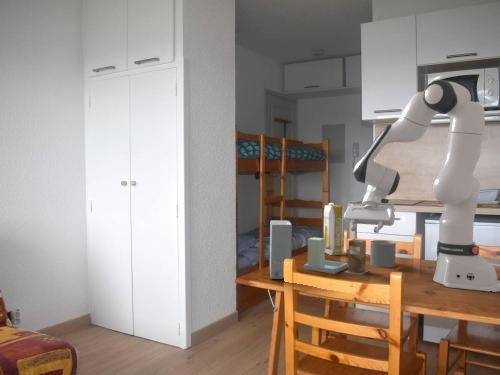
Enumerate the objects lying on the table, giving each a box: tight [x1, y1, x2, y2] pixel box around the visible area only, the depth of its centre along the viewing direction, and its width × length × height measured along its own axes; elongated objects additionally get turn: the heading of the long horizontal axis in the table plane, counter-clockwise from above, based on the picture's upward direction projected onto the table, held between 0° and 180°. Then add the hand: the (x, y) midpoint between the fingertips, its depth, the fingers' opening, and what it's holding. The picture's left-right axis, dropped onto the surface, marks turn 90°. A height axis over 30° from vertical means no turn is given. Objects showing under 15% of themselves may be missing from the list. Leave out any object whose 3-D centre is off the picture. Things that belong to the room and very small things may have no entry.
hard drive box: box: [269, 220, 293, 280], centre depth 168 cm, size 16×8×20 cm, turn 179°
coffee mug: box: [369, 239, 397, 268], centre depth 185 cm, size 13×10×10 cm
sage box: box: [307, 236, 326, 267], centre depth 176 cm, size 5×5×12 cm
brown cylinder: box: [347, 238, 367, 274], centre depth 172 cm, size 5×5×12 cm
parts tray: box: [303, 259, 348, 275], centre depth 177 cm, size 13×13×2 cm
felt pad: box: [344, 269, 369, 276], centre depth 172 cm, size 7×8×1 cm
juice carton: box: [323, 202, 345, 256], centre depth 209 cm, size 9×8×24 cm
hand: (364, 231), depth 176 cm, fingers open, 8 cm apart
